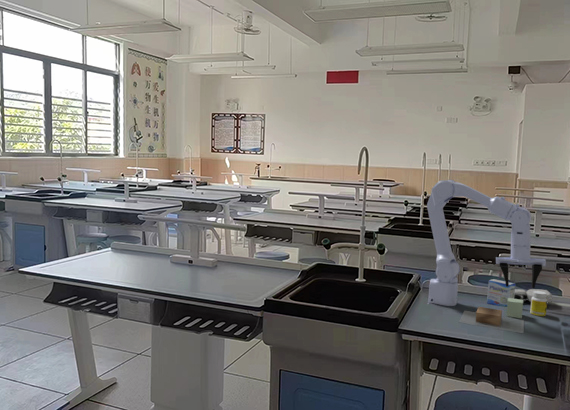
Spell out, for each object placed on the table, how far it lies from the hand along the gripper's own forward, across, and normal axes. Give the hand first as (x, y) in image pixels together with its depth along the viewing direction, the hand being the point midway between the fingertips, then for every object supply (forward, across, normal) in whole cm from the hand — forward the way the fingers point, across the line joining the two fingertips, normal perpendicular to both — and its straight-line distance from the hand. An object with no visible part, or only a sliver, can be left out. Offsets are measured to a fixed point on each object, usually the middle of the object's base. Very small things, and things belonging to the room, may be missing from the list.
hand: (519, 286), depth 160 cm
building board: (+10, -9, -10) cm, 17 cm away
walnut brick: (+9, -10, -10) cm, 17 cm away
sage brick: (+11, -2, 0) cm, 11 cm away
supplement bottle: (+11, +6, +5) cm, 14 cm away
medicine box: (+10, -5, +15) cm, 19 cm away
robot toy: (+11, +5, +25) cm, 27 cm away
